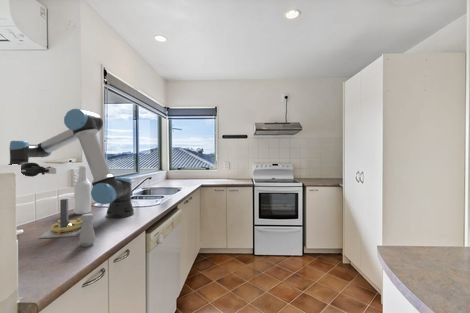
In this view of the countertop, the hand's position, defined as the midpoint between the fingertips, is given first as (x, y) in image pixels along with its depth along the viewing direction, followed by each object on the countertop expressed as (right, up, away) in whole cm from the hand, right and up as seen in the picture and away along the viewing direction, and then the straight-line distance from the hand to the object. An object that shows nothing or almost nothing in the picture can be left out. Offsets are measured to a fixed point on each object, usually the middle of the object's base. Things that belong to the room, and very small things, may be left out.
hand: (54, 171), depth 111 cm
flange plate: (+7, -29, -1) cm, 30 cm away
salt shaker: (+28, -30, -18) cm, 45 cm away
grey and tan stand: (+7, -28, -1) cm, 29 cm away
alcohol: (-7, -29, +30) cm, 42 cm away
